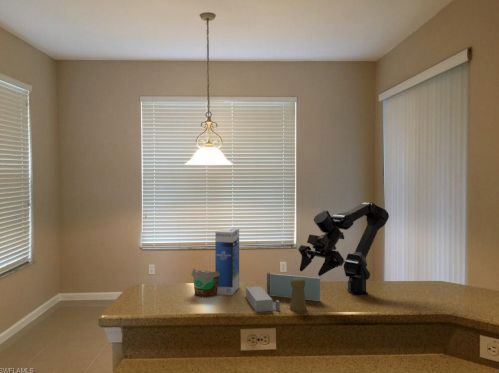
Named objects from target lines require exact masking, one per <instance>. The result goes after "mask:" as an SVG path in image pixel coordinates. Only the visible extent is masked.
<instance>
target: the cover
mask: <svg viewBox="0 0 499 373" xmlns="http://www.w3.org/2000/svg"><path fill="white" fill-rule="evenodd" d="M294 278H302V279H304V280H305V287H304V293H305V300H309V301H310V300H311V301H318V302H320V301H321V277H313V276H312V277H311V276H305V275H302V276H300V275H290V274H281V273H271V272H270V296H275V297H281V298H282V297H285V298H291V295H292V286H291V280H292V279H294Z"/></svg>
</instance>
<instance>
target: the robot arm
mask: <svg viewBox="0 0 499 373" xmlns="http://www.w3.org/2000/svg"><path fill="white" fill-rule="evenodd" d="M364 216H365V217H366V218H365V219H366V227H365V229H364V232H363V233H362V236H361V237H360V240H359V241H358V244H357V246H356V248H355V251H354V252H352V253H350V252H349V253H348V254H347V255H346V258H345V259H344V258H343V256H342V255H341V253H340V251H339V250H336V249H337V247H336V245H337V243H338V241H339V240H345V235H344V231H343V232H342V231H341V230H345V231H347V230H350V229H351V228H352V226H354V222H356V221H357V220H359V219H361V218H363V217H364ZM389 217H390V215H389V213H388V211H387V210H386V209H384V208H382V207H381V206H378V205H377V204H375V203H373V202H370V201H363V202H362V203H360V204H359V205H357V206H355V207H354V208H352V209H350V210H348V211H346V212H339V213H334V214H333V215H331V214H330V212H329V210H325V209H324V210H322V212H319V213H318V214H316V215H315V216H314V218H313V222H314V223H315V225H316V226H317V228H318V229H319V230H320V232H321V233H323V234H321V235H316V234H309V235H308V237H307V241H306V243H307V244H310V245H311V246H312V248H311V247H310V246H309V245H303V244H302V245H299V247H298V249H297V250H298V252H299V254H300V255H301V259H300V266H299V272H303V271H305V269H306V268H307V267H308V266H309V265H310V264H311V263H312V262H313V260H314V258H315V257H317V258H322V259H324V262H323V263H322V265H321V267H320V269H319V270H318V273H317V275H318V277H321V276H323V275H325V274H326V273H328V272H329V271H331V270H333V269H335V268H338V267H342V266H343V270H344V275H345V277H347V278H348V280H347V290H346V291H347V292H349V293H351V294H352V295H366V294H367V295H368V294H369V292H368V291H367V280H369V279H370V276H371V273H370V271H369V270H368V268H367V266H368V262H367V257H368V254H369V252H370V249H371V247H372V244H373V242H374V241H375V238H376V236H377V234H378V232H379V230H380V229H381V228H383V227H384V226H385V225H386V224H387V222H388V220H389Z"/></svg>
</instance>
